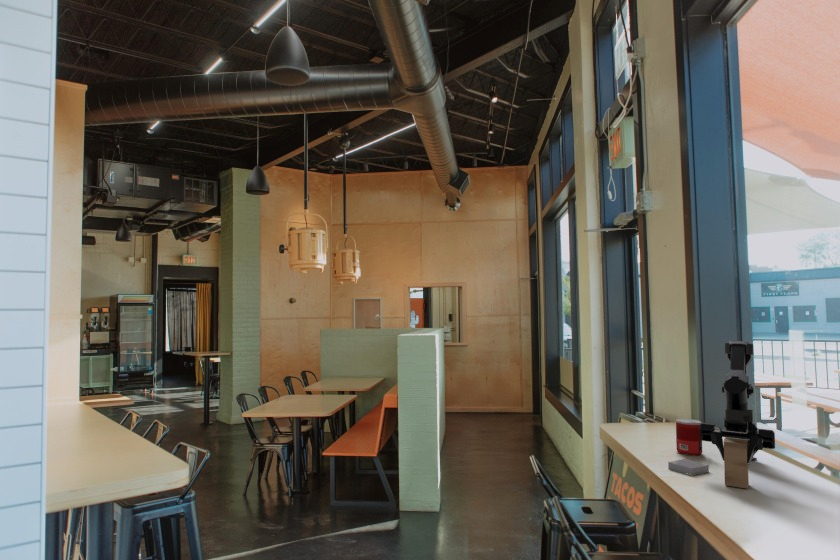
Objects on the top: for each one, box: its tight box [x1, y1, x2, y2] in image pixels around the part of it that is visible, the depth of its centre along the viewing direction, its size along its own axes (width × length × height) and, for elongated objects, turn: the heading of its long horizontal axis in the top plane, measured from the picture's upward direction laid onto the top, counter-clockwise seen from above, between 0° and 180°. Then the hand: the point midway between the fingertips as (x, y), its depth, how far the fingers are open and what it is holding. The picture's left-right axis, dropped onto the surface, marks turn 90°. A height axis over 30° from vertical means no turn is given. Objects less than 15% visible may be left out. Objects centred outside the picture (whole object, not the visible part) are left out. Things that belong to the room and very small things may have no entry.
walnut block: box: [723, 437, 750, 490], centre depth 153 cm, size 6×6×12 cm
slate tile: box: [667, 458, 710, 476], centre depth 167 cm, size 8×8×2 cm
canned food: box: [675, 418, 703, 456], centre depth 188 cm, size 8×8×11 cm
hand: (735, 461), depth 152 cm, fingers closed on walnut block, 5 cm apart
